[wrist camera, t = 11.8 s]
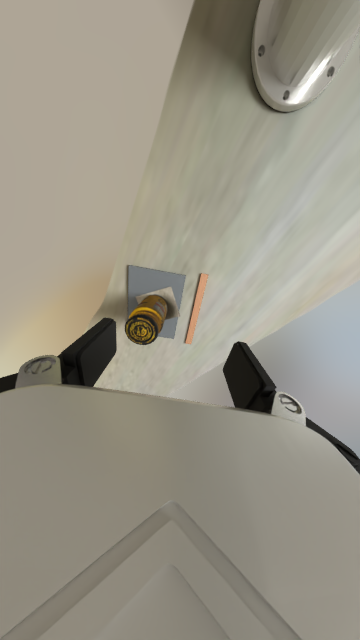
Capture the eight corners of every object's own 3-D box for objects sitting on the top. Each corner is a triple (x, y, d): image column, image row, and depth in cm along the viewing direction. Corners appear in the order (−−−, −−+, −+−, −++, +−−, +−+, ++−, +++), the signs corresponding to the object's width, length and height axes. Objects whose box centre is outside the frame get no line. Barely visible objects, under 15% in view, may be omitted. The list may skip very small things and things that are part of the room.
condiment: (135, 296, 31) (110, 317, 20) (171, 286, 30) (165, 302, 19) (147, 324, 34) (131, 355, 23) (180, 315, 33) (179, 344, 22)
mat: (129, 265, 29) (128, 265, 28) (185, 275, 29) (185, 275, 29) (128, 330, 35) (127, 331, 35) (174, 337, 36) (174, 338, 35)
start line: (201, 273, 29) (201, 273, 29) (207, 274, 29) (208, 274, 29) (185, 342, 37) (185, 343, 36) (190, 343, 37) (190, 344, 36)
